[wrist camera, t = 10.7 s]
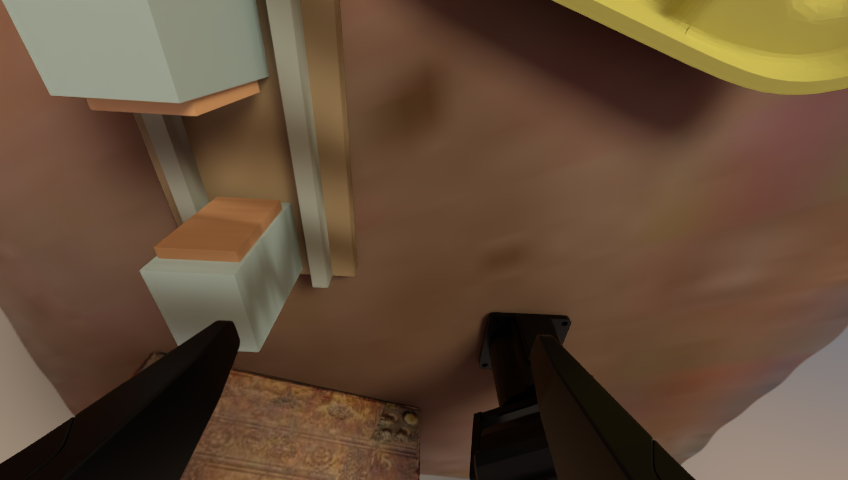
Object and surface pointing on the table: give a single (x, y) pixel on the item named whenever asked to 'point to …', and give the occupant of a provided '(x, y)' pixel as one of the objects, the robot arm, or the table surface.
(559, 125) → the table surface
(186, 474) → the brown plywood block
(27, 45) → the grey green block
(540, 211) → the table surface
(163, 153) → the rail
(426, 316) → the table surface
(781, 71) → the plastic component
